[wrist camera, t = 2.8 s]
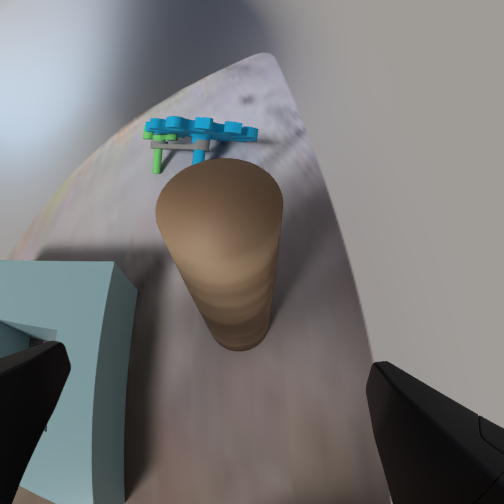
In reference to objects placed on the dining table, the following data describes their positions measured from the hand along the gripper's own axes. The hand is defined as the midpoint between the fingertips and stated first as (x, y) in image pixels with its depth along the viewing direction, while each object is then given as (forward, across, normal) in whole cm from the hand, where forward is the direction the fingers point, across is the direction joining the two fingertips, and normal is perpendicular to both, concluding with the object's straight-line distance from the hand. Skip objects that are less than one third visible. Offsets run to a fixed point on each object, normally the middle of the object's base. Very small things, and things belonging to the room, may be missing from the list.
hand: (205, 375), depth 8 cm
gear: (+23, +4, -6) cm, 24 cm away
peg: (+12, 0, +5) cm, 13 cm away
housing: (+7, +14, +9) cm, 18 cm away
